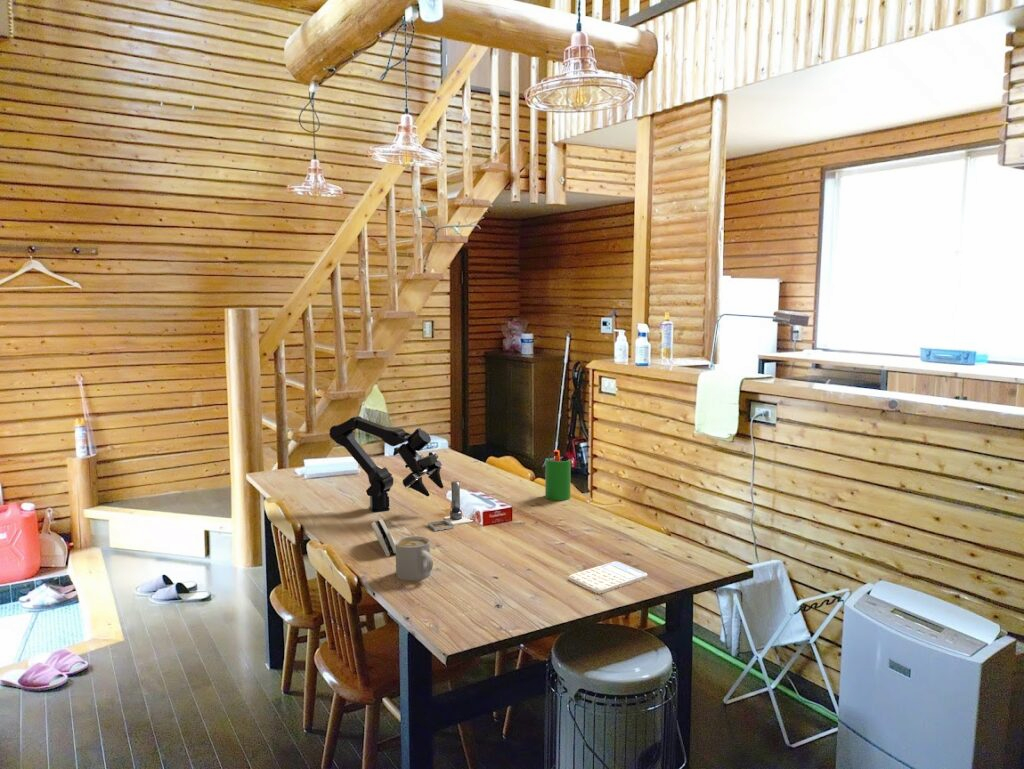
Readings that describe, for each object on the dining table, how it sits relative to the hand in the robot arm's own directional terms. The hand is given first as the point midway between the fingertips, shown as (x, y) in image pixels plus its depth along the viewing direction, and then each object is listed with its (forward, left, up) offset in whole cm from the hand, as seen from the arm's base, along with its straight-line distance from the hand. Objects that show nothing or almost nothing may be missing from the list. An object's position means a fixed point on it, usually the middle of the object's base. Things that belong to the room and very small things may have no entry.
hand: (435, 491), depth 261 cm
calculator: (+24, -77, -10) cm, 82 cm away
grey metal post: (+5, -7, -9) cm, 12 cm away
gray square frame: (-3, -12, -9) cm, 15 cm away
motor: (+53, +1, -10) cm, 54 cm away
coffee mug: (-25, -50, -10) cm, 57 cm away
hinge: (-26, -23, -10) cm, 36 cm away
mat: (+6, -8, -9) cm, 14 cm away
